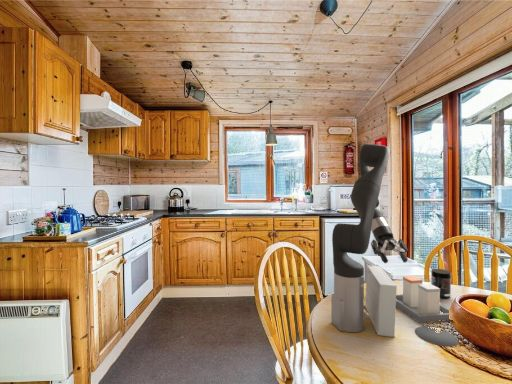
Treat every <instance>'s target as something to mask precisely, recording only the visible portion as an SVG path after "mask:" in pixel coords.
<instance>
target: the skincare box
mask: <svg viewBox="0 0 512 384" xmlns="http://www.w3.org/2000/svg"><path fill="white" fill-rule="evenodd" d="M365 285H366V286H365V299H364V301H365V303H364V304H365V305H364V307H365V308H366V311H367V314H368V316H369V318H370V321H371V324H372V325H373V328H374V330H375V333H376V335H378V336H383V337H393V338H394V337H395V335H396V334H395V333H396V332H395V331H396V327H395V326H396V310H397V309H396V307H397V306H396V295H397V287H398V286H397V284H396V283H395V282H394V281H393V280H392V279H391V277H390V276H389V275H388V274H387V273H386V271H385V270H384V269H383V268H382V266H379V265H366V281H365Z"/></svg>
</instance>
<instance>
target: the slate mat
mask: <svg viewBox="0 0 512 384" xmlns="http://www.w3.org/2000/svg"><path fill="white" fill-rule="evenodd" d="M428 326H429V325H425V326H424V325H421V326H418V327H416V328H415V329H414V333H415V335H416V336H417V337H418V338H419V339H421V340H422V341H424V342H427V343H429V344H431V345H436V346H438V347H439V346H441V347H447V348H448V347H455V346H457V345H458V344H459V339H458V337H457V336H456V335H454V334H453V333H451V332H450V333H451V334H450V333H449V331H448V332H445V331H446V330H445V331H444V332H443V331H442V332H441V331H440V333H436V332H437V331H436V330H437V329H436V330H435V328H434V329H433V328H432V329H431V328H430V327H431V326H429V328H428ZM429 329H430V330H429ZM435 331H436V332H435Z"/></svg>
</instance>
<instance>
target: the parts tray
mask: <svg viewBox="0 0 512 384" xmlns="http://www.w3.org/2000/svg"><path fill="white" fill-rule="evenodd" d="M396 307H397V308H398V309H400V311H402V312H404V313H405V314H407V315H408V316H410V318H412V319H414V320H415V321H416V322H418V323H419V324H423V323H432V322H431V321H438V322H440V321H439V320H450V319H449V310H451V309H449V308H447V307H446V306H444V305H442V304H440V311H441V312H443V313H444V314H429V315H421V314H420V313H418V307H409V306H408V305H406V304H405V303H403V293H402V294H396Z"/></svg>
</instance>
